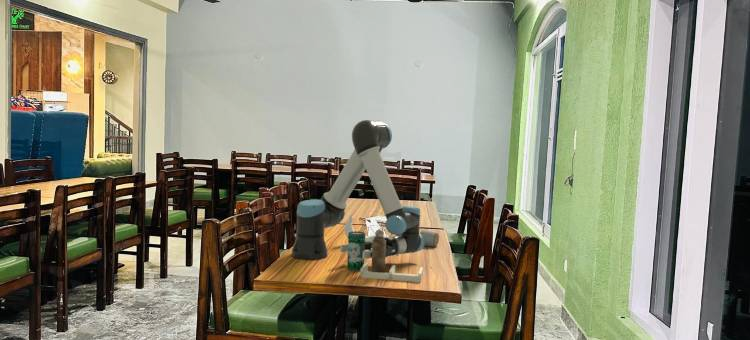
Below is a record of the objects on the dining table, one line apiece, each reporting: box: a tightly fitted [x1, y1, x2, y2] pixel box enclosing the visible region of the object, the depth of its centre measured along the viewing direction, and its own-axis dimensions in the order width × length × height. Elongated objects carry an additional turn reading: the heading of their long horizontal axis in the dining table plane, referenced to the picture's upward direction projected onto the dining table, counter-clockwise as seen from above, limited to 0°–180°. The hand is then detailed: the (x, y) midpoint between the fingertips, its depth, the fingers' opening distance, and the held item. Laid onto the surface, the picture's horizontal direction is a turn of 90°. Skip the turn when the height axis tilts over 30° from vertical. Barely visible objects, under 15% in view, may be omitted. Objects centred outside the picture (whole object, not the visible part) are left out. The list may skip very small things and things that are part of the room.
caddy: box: [359, 262, 424, 283], centre depth 203 cm, size 22×10×4 cm, turn 81°
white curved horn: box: [343, 214, 385, 242], centre depth 262 cm, size 5×19×15 cm, turn 93°
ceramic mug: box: [419, 229, 440, 248], centre depth 268 cm, size 11×8×8 cm
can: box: [346, 230, 366, 272], centre depth 212 cm, size 6×6×15 cm
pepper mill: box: [370, 229, 386, 273], centre depth 204 cm, size 5×5×17 cm
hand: (351, 251), depth 210 cm, fingers open, 13 cm apart
